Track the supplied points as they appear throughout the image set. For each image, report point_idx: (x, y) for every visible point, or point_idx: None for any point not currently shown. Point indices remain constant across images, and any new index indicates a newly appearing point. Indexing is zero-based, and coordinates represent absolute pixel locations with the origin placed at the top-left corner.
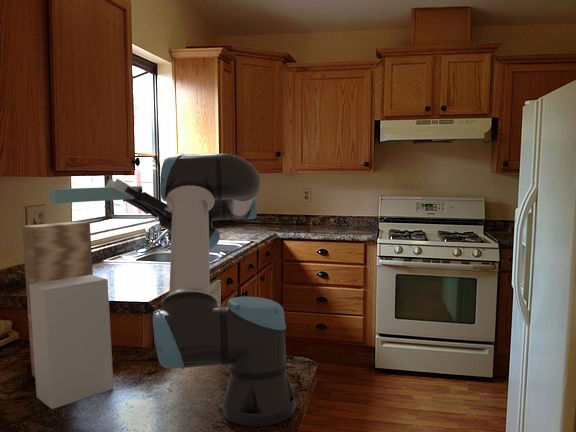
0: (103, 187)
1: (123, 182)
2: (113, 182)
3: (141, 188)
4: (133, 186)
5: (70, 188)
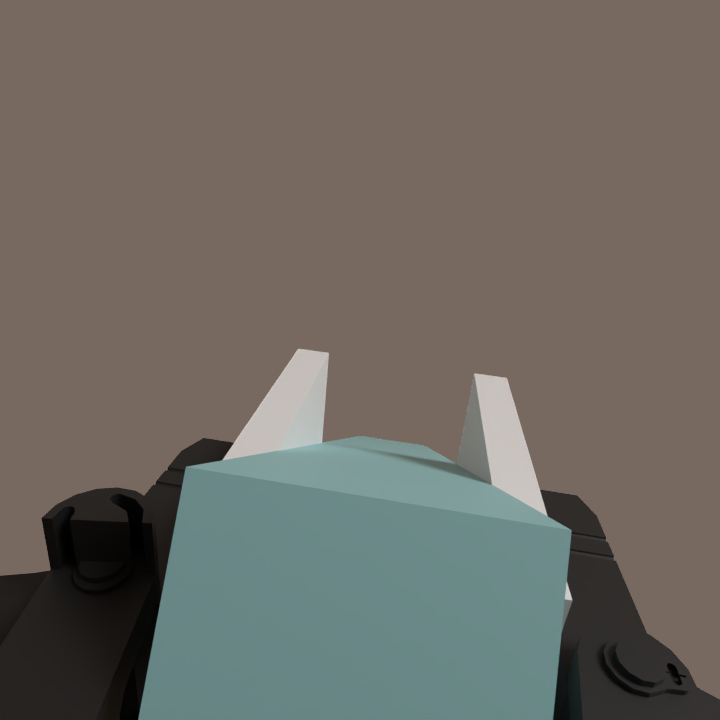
0: (361, 445)
1: (276, 383)
2: (473, 412)
3: (179, 530)
4: (300, 462)
5: (424, 448)
